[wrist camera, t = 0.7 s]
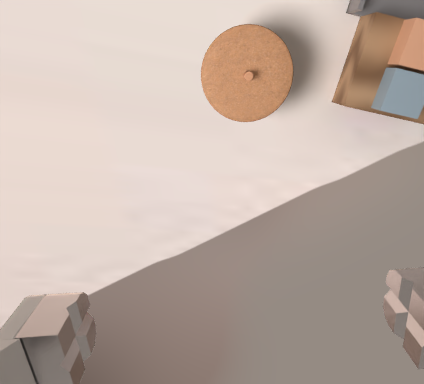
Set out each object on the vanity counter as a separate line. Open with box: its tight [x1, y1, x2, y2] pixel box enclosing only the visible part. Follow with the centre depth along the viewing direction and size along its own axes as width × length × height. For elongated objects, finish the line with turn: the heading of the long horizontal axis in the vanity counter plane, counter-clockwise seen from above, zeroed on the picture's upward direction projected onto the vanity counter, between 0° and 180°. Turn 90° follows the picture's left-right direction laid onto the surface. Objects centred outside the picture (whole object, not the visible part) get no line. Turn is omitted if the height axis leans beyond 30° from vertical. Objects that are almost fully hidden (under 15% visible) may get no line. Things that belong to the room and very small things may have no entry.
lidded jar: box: [201, 24, 293, 122], centre depth 42 cm, size 11×11×9 cm
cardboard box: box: [332, 12, 424, 124], centre depth 44 cm, size 11×12×4 cm
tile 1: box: [388, 18, 424, 73], centre depth 40 cm, size 5×5×2 cm
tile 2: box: [371, 68, 424, 119], centre depth 42 cm, size 5×5×2 cm
